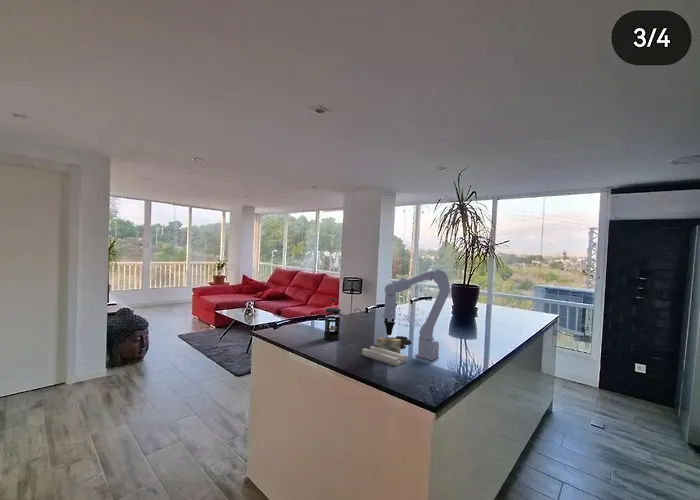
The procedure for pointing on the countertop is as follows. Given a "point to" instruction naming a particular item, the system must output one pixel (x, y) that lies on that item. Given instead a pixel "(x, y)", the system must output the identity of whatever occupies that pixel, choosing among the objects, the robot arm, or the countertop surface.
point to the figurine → (403, 341)
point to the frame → (389, 344)
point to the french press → (334, 332)
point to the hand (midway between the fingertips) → (389, 333)
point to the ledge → (384, 355)
